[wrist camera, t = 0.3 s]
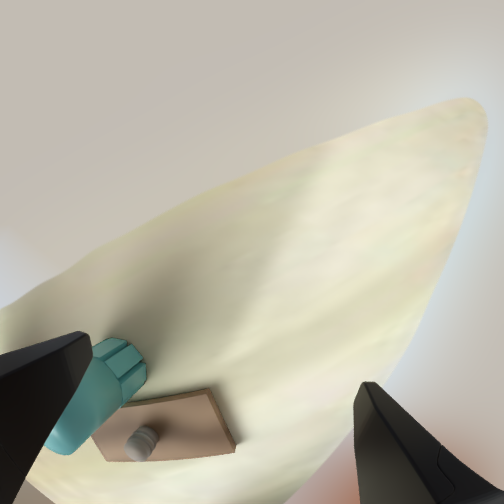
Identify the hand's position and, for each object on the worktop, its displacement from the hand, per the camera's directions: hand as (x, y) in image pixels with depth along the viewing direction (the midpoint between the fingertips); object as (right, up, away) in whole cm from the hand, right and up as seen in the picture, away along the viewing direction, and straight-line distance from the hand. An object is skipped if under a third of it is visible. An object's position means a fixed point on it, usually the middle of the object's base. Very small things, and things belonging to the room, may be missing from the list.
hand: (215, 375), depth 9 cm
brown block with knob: (-9, -14, +17) cm, 24 cm away
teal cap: (-12, -7, +17) cm, 22 cm away
